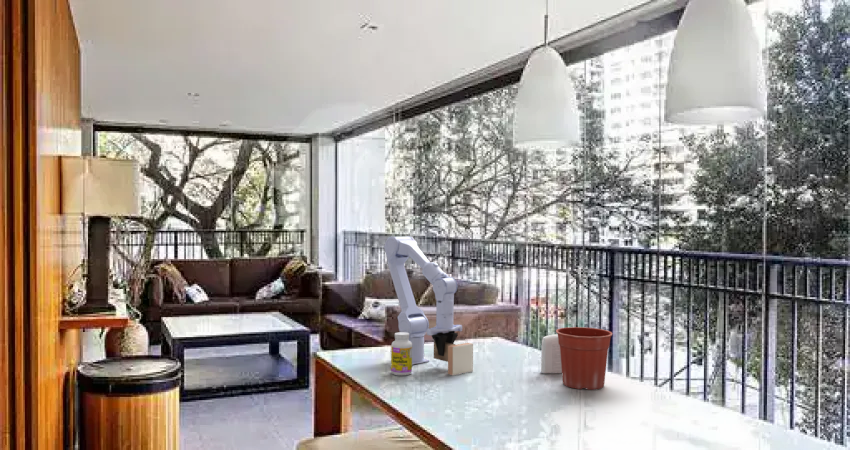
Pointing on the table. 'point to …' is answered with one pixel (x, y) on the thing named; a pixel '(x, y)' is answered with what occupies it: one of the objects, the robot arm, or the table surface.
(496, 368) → the table surface
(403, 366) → the supplement bottle
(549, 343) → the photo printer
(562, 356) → the flower pot
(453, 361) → the glazed tile
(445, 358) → the bar
